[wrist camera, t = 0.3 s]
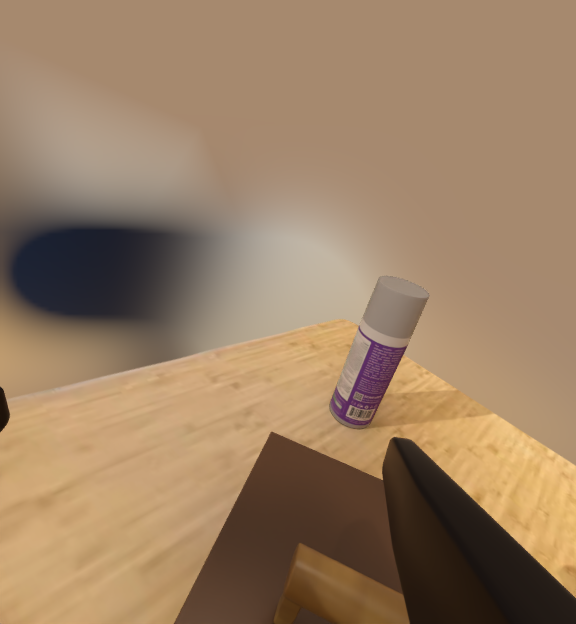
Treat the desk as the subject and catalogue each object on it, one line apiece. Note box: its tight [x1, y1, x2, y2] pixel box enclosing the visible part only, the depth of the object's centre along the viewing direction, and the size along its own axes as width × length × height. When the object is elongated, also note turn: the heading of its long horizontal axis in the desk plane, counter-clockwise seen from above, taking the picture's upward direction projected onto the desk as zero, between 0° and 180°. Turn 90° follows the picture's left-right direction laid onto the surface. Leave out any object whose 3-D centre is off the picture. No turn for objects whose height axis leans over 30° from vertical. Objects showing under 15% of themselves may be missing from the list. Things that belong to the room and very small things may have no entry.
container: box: [330, 276, 429, 429], centre depth 30 cm, size 5×5×15 cm
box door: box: [174, 432, 410, 624], centre depth 12 cm, size 14×12×5 cm
